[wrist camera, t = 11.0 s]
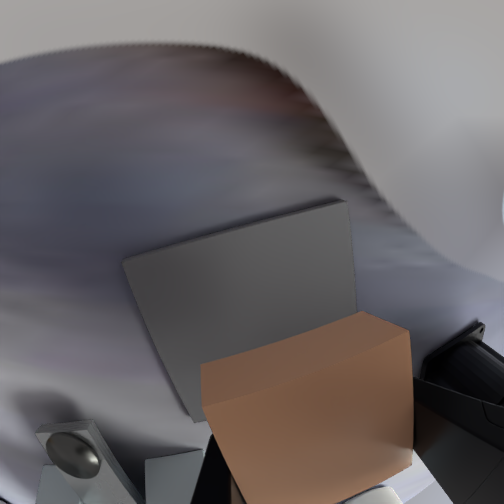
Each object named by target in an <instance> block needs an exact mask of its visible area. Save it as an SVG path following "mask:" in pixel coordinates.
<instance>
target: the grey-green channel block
mask: <svg viewBox="0 0 504 504" xmlns="http://www.w3.org/2000/svg"><path fill="white" fill-rule="evenodd" d="M204 456H205V453H204V451H203V450H202V449H201V450H197V451H192V452H187V453H182V454H176V455H171V456H165V457H159V458H152V459H145V489H146V504H190V502H191V499H192V496H193V492H194V489H195V486H196V483H197V479H198V476H199V473H200V469H201V466H202V463H203V459H204ZM35 504H85V503H84V502H83V501H82V500H81V499H80V497H79V496H78V495H77V494H76V492H75V491H74V490H73V489H72V487H71V486H70V485H69V483H68V482H67V481H66V479H65V478H64V477H63V475H62V474H61V473H60V471H59V470H58V468H57V467H56V466H55V465H43V470H42V474H41V478H40V483H39V488H38V493H37V498H36V503H35Z"/></svg>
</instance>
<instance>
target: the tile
mask: <svg viewBox="0 0 504 504" xmlns="http://www.w3.org/2000/svg"><path fill="white" fill-rule="evenodd" d="M200 367H201V401H202V409H203V411H204V414H205V416H206V419H207V421H208V423H209V426H210V428H211V430H212V432H213V435H214V437H215V439H216V441H217V444H218V446H219V448H220V450H221V452H222V454H223V457H224V459H225V461H226V463H227V465H228V467H229V469H230V471H231V473H232V475H233V477H234V479H235V481H236V483H237V485H238V487H239V489H240V491H241V493H242V495H243V497H244V499H245V501H246V503H247V504H335V503H338V502H340V501H343V500H345V499H347V498H349V497H352V496H354V495H356V494H358V493H360V492H363V491H365V490H367V489H369V488H371V487H373V486H375V485H377V484H379V483H381V482H383V481H384V480H386V479H388V478H390V477H392V476H394V475H395V474H397V473H399V472H401V471H403V470H404V469H406V468H408V467H409V466H411V465H412V455H413V424H414V406H413V374H412V358H411V345H410V334H409V330H407V329H404V328H402V327H399V326H397V325H395V324H392V323H390V322H388V321H385V320H383V319H380V318H378V317H376V316H373V315H371V314H369V313H366V312H364V311H361V312H358V313H356V314H353V315H350V316H348V317H345V318H343V319H340V320H337V321H335V322H332V323H329V324H327V325H324V326H321V327H319V328H316V329H313V330H310V331H307V332H305V333H302V334H299V335H296V336H293V337H290V338H287V339H284V340H281V341H278V342H275V343H272V344H269V345H266V346H262V347H259V348H256V349H253V350H249V351H246V352H243V353H239V354H236V355H233V356H229V357H226V358H222V359H219V360H215V361H211V362H208V363H204V364H200Z"/></svg>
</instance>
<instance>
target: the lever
mask: <svg viewBox="0 0 504 504" xmlns="http://www.w3.org/2000/svg"><path fill="white" fill-rule="evenodd" d="M35 435H36V436H37V438H38V440H39V441H40V443H41V444H42V446H43V448H44V449H45V451H46V452H47V454H48V456H49V458H50V459H51V460H52V462H53V463H54V464H55V466H56V467H57V468H58V470H59V471H60V473H61V474H62V475H63V477H64V478H65V479H66V481H67V482H68V483H69V485H70V486H71V487H72V489H73V490H74V491H75V492H76V494H77V495H78V496H79V497H80V499H81V500H82V501H83V502H84V503H85V504H146V501H145V500H144V499H143V497H142V496H141V495H140V493H139V492H138V491H137V489H136V488H135V486H134V485H133V484H132V482H131V481H130V479H129V478H128V477H127V475H126V474H125V472H124V471H123V469H122V468H121V466H120V465H119V463H118V462H117V460H116V458H115V457H114V455H113V454H112V452H111V450H110V449H109V447H108V445H107V444H106V442H105V440H104V439H103V437H102V435H101V434H100V432H99V430H98V428H97V426H96V425H95V423H94V421H93V419H92V420H84V421H75V422H64V423H53V424H42V425H41V426H40V427H39V428H38V430H37V431H36V432H35Z"/></svg>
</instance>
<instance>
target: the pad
mask: <svg viewBox="0 0 504 504" xmlns="http://www.w3.org/2000/svg"><path fill="white" fill-rule="evenodd" d="M121 263H122V266H123V268H124V271H125V274H126V277H127V279H128V282H129V285H130V287H131V290H132V292H133V295H134V298H135V300H136V303H137V305H138V307H139V310H140V312H141V315H142V317H143V320H144V322H145V324H146V327H147V329H148V331H149V333H150V336H151V338H152V340H153V342H154V345H155V347H156V349H157V351H158V353H159V356H160V358H161V360H162V362H163V364H164V366H165V368H166V370H167V372H168V374H169V376H170V378H171V380H172V382H173V384H174V386H175V388H176V390H177V392H178V394H179V396H180V398H181V400H182V402H183V404H184V405H185V407H186V409H187V411H188V413H189V415H190V417H191V418H192V420H193V422H194V423H197V422H201V421H206V420H207V419H206V416H205V414H204V411H203V409H202V401H201V367H200V364H204V363H208V362H211V361H215V360H219V359H222V358H226V357H229V356H233V355H236V354H239V353H243V352H246V351H249V350H253V349H256V348H259V347H262V346H266V345H269V344H272V343H275V342H278V341H281V340H284V339H287V338H290V337H293V336H296V335H299V334H302V333H305V332H307V331H310V330H313V329H316V328H319V327H321V326H324V325H327V324H329V323H332V322H335V321H337V320H340V319H343V318H345V317H348V316H350V315H353V314H356V313H357V307H356V289H355V274H354V261H353V250H352V239H351V229H350V220H349V212H348V204H347V201H345V200H340V201H336V202H332V203H327V204H323V205H319V206H315V207H311V208H307V209H303V210H299V211H296V212H292V213H288V214H284V215H280V216H276V217H272V218H268V219H265V220H261V221H257V222H253V223H249V224H246V225H242V226H238V227H234V228H231V229H227V230H223V231H220V232H216V233H212V234H209V235H205V236H202V237H198V238H194V239H191V240H187V241H184V242H180V243H177V244H173V245H170V246H166V247H163V248H159V249H156V250H152V251H149V252H145V253H142V254H138V255H135V256H132V257H128V258H125V259H123V260H122V262H121Z"/></svg>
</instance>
